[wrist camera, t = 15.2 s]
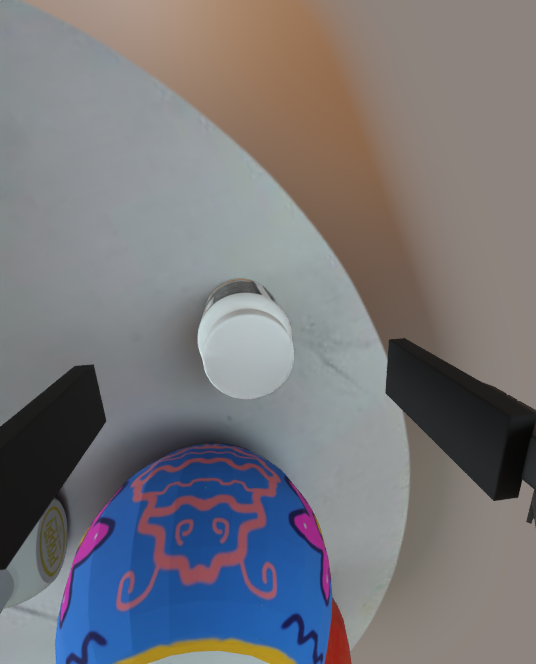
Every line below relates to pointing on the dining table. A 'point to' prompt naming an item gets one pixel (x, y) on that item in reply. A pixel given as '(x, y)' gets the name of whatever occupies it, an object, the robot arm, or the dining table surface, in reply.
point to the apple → (337, 639)
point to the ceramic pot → (200, 568)
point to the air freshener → (36, 559)
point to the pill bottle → (245, 340)
